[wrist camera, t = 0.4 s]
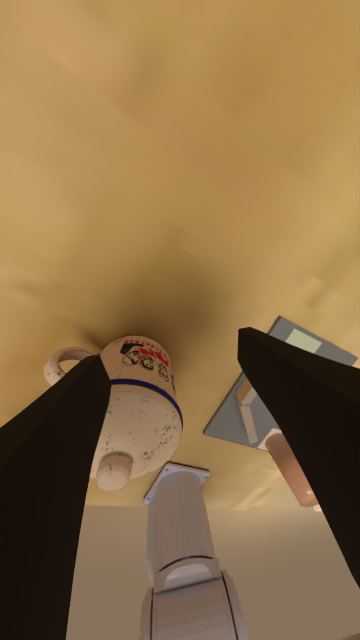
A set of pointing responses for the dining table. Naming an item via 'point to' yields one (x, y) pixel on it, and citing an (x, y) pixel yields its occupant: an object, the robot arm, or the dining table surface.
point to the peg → (290, 469)
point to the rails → (246, 408)
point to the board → (227, 417)
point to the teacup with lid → (131, 409)
